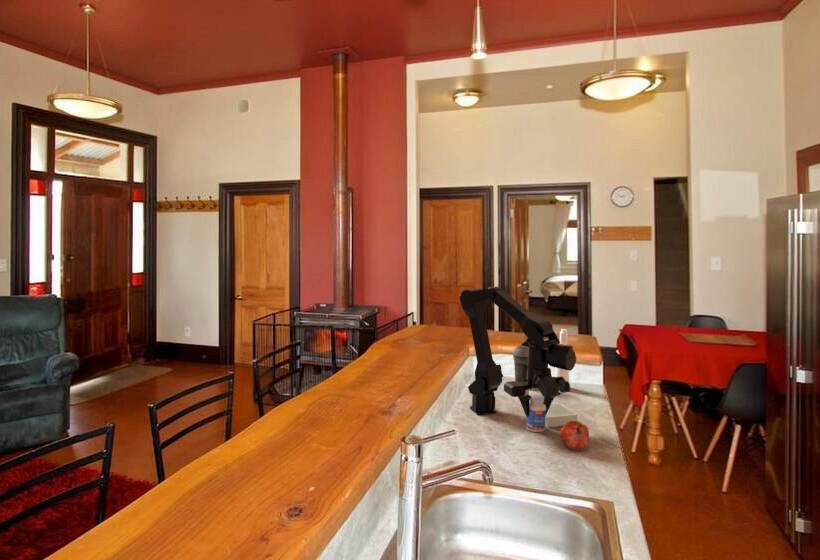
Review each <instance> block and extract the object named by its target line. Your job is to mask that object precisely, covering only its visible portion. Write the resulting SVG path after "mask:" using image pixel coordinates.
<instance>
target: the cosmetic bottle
mask: <svg viewBox="0 0 820 560" xmlns="http://www.w3.org/2000/svg"><path fill="white" fill-rule="evenodd" d="M568 335H569V332H568V329H566V328H561V329H560V332H559V341H560V344H563V345H568V342H569V341H568V340H569V339H568V337H569V336H568ZM569 373H570V371H569V370H564V369H560V368H556V367H555V373H554V377H563V378H564V379H565V380H566V381H568V382H569V383H570V374H569Z"/></svg>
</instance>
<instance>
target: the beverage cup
mask: <svg viewBox="0 0 820 560" xmlns="http://www.w3.org/2000/svg"><path fill="white" fill-rule="evenodd" d="M523 342H525V334H524V333H523V332H522V343H523ZM512 356H513V358H512V359H513V362H514V363H513V365H514V381H518V382H519V383H521V384H527V382H525V378H527V373H528V369H527V368H525V364H528V347H526V346H522V344H518V345H517V346H516V347H515V348H514V351H513V353H512Z"/></svg>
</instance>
